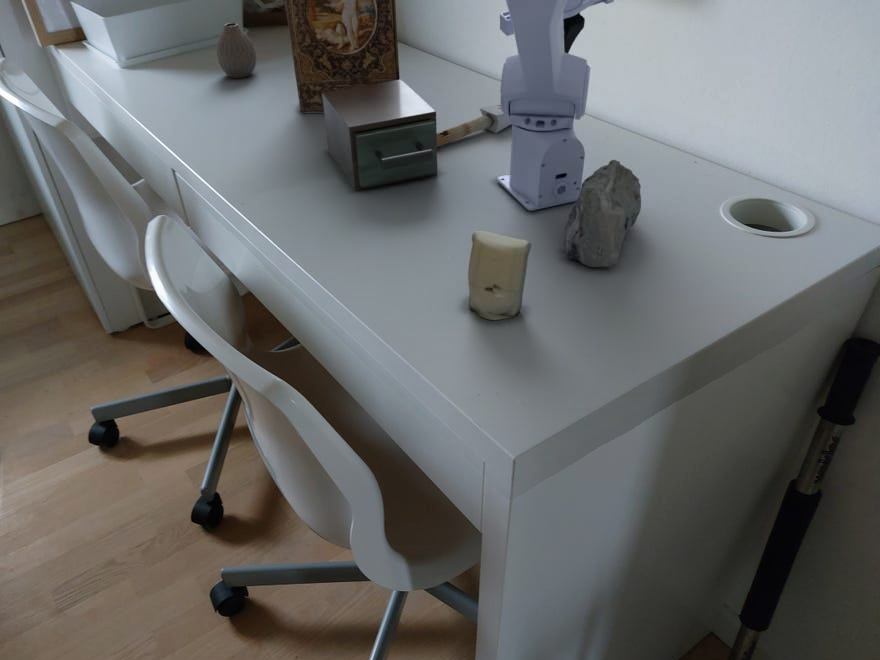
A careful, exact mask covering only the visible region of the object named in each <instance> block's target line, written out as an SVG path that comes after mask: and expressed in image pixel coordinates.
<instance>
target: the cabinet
mask: <svg viewBox="0 0 880 660" xmlns="http://www.w3.org/2000/svg"><path fill="white" fill-rule="evenodd" d="M322 98H323V106H324V113H323V114H324V123H325V130H326V138H327V147H328V153H329V154H330V156H331V157H332V159H333V160H334V162H335V163H336V165H337V166H338V168H339V169H340V170H341V172H342V174H343V175H344V176H345V178H346V179H347V181H348V182H349V184H350V185H351V187H352V188H353V190H354V191H355V192H357V191H361V190H367V189H372V188H377V187H381V186H386V185H391V184H396V183H401V182H405V181H411V180H415V179H421V178H427V177H429V176H430V177H431V176H435V175H438V147H437V133H438V132H437V111H436V110H435V109H434V108H433V107H432V106H431V105H430V104H428V103H427V101H426V100H424V99H423V98H422V97H421V96H420V95H419V94H417V92H415V90H413V89H412V88H411V87H410V86H409V85H408V84H407V83H406V82H405V81H404V80H403V79H401V78H400V80H395V81H389V82H383V83H377V84H371V85H365V86H359V87H353V88H347V89H341V90H336V91H330V92H324V93H322ZM431 119H432V120H433V121H434V122H435V137H436V173H431V174H426V175H421V176H416V177H411V178H406V179H401V180H396V181H391V182H386V183H381V184H376V185H371V186H366V187H361V186H360V184H359V177H358V166H357V156H356V145H355V135H354V134H356V133H355V132H360V131H365V130H371V129H376V128H381V127H387V126H392V125H398V124H403V123H408V122H414V121H419V120H423V121H426V120H431Z"/></svg>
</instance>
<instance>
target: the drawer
mask: <svg viewBox="0 0 880 660" xmlns="http://www.w3.org/2000/svg"><path fill="white" fill-rule="evenodd" d="M355 133H356V134H354V135H355V145H356V156H357V166H358V177H359V184H360V186H361V187H366V186H371V185H376V184H381V183H386V182H391V181H396V180H401V179H406V178H411V177H416V176H421V175H426V174H431V173H436V137H435V122H434V121H433V120H432V119H431V120H426V121H423V120H419V121H414V122H408V123H403V124H398V125H392V126H387V127H381V128H376V129H371V130H365V131H360V132H355Z"/></svg>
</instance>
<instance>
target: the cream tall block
mask: <svg viewBox="0 0 880 660" xmlns="http://www.w3.org/2000/svg"><path fill="white" fill-rule="evenodd" d="M471 242H472V245H471V251H470V256H469V262H468V271H467V280H468V282H467V283H468V292H469V294H468V295H469V296H468V308H469V309H470V310H472V311H474V312H476V313H477V315H478V316H480V317H482V318H484V319H487V320H491V321H499V320H503V319H513V318H516V317H517V316H518V315H519V314H520V312H521V309H522V306H523V305H522V303H523V296H524V288H525V282H526V275H527V269H528V260H529V255H530V252H531V249H532V243H531V241H529V240H526V239H521V238H516V237H513V236H508V235H506V234H505V235H504V234H500V233H495V232H491V231H487V230H477V231H474V232H473V233H472V235H471Z"/></svg>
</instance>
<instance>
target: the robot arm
mask: <svg viewBox="0 0 880 660" xmlns="http://www.w3.org/2000/svg"><path fill="white" fill-rule="evenodd" d="M505 2H506V7H507V11H503V12H501V13H499V30H501V32H502V34H504V35H505V36H506V37H508V36H511V35H514V39H515V44H516V45H515V46H516V49H517V54H516V53H515V54H513V55H510V56H507V57H506V58H505V62H504V63H503V66H502V72H501V80H500V89H499V90H500V91H499V92H500V105H501V110H502V112H503V113H504V115H505V116H510V125H509V126H511V127H512V128H511V144H510V162H509V163H510V164H509V174H505V175H500V176H497V177H496V181H497V182H498V183H499V184H500V185H501V186H502V187H503V188H504V189H505V190H506V191H507V192H508V193H509V194H511V196H512V197H514V198H515V199H516V200H517V201H518V202H519V203H520V204H521V205H522V206H523V207H524V208H525V209H526V210H528V211H530V212H531V211H532V212H533V211H537V210H541V209H546V208H550V207H555V206H560V205H563V204H569V203H573V202H576V201H577V199H578V198H579V194H580V192H581V188H582V183H583V182H582V181H583V173H584V166H585V156H586V152H585V148H584V145H583V143H582V142H581V140H580V139H579V138H578V136H577V135H576V132H575V128H574V124H575V123H574V122H575V120H578V121H580V120H581V118H583V117H584V116H585V114H586V108H587V100H588V95H589V85H590V76H591V67H590V65H589V64H588V61H587V59H585V58H583V57H580V56H577V55H574V54H571V53H570V50H571V48H572V46H573V44H574V42H575V41H576V39H577V38H578V36H579V35H580V33H581V32H582V31H583V30H584V28H585V22H586V19H585V17H584V16H583V15H582V14H581V13H582V12H583V11H584V10H586V9H587V8H589V7H592V6H596V5H598V4H599V5H600V4H602V3H604V4H606V5H609V4H612V3H614V2H615V0H505Z"/></svg>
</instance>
